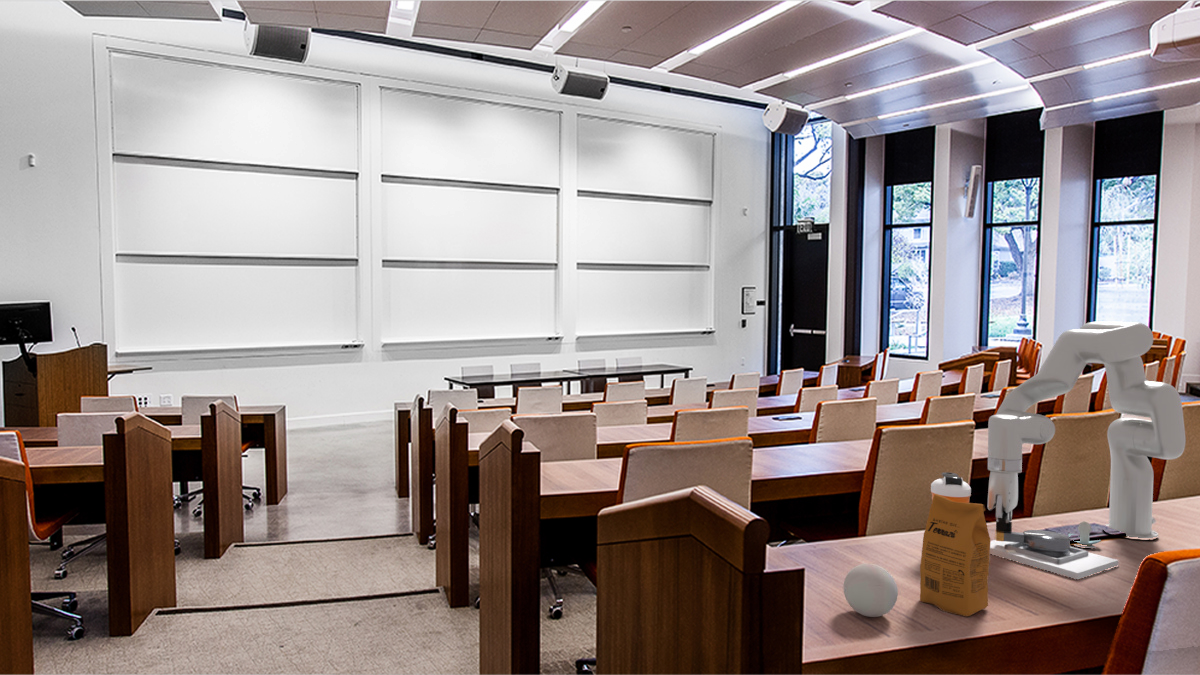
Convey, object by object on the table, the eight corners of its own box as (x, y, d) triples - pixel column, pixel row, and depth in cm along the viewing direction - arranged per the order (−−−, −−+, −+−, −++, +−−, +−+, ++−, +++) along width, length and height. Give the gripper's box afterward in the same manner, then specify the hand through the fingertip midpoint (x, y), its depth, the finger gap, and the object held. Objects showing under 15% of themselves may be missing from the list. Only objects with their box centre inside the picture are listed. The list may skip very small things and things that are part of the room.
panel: (1018, 540, 201) (1018, 530, 201) (1118, 566, 180) (1118, 555, 180) (977, 550, 192) (977, 540, 191) (1077, 580, 171) (1078, 568, 171)
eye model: (835, 605, 155) (836, 556, 155) (883, 604, 156) (884, 556, 155) (854, 626, 145) (855, 574, 145) (906, 625, 146) (907, 573, 145)
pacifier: (1093, 552, 192) (1103, 547, 195) (1094, 528, 191) (1103, 523, 195) (1062, 545, 197) (1071, 540, 201) (1062, 521, 197) (1072, 517, 201)
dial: (1063, 548, 189) (1064, 531, 189) (1075, 560, 180) (1075, 542, 179) (991, 541, 194) (992, 525, 194) (999, 553, 184) (999, 536, 184)
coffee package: (941, 591, 164) (943, 489, 163) (996, 611, 153) (999, 502, 152) (910, 599, 159) (912, 494, 158) (965, 620, 148) (968, 508, 147)
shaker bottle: (961, 550, 191) (963, 471, 191) (975, 562, 182) (977, 479, 182) (924, 549, 192) (926, 470, 191) (936, 561, 183) (938, 478, 183)
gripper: (996, 458, 199) (995, 527, 199) (979, 467, 187) (979, 541, 188) (1028, 461, 194) (1027, 533, 194) (1013, 471, 182) (1012, 547, 183)
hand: (1003, 536), depth 191 cm, fingers closed
